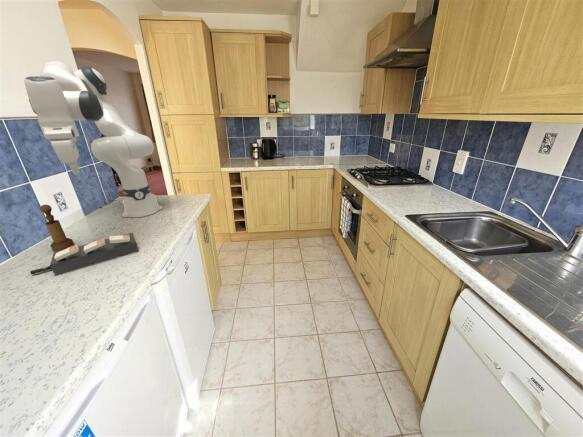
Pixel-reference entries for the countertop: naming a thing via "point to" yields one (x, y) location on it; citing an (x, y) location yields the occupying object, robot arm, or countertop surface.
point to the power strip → (90, 256)
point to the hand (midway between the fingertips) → (76, 173)
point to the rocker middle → (94, 245)
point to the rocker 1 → (66, 252)
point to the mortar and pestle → (56, 231)
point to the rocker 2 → (119, 238)
